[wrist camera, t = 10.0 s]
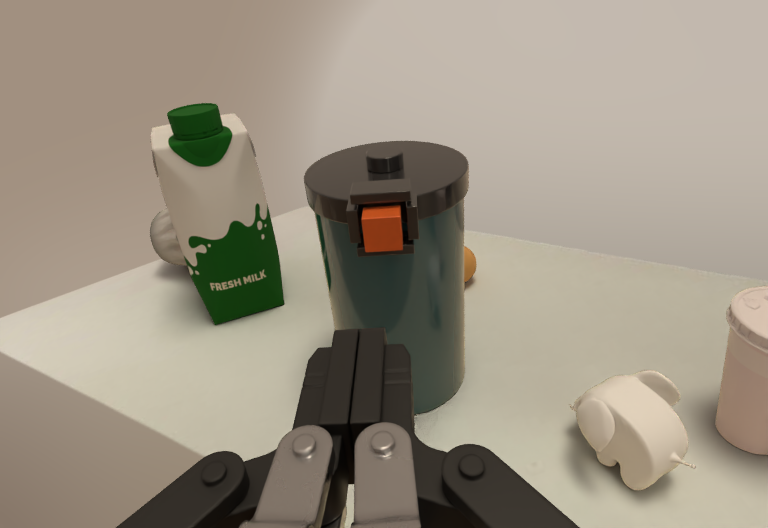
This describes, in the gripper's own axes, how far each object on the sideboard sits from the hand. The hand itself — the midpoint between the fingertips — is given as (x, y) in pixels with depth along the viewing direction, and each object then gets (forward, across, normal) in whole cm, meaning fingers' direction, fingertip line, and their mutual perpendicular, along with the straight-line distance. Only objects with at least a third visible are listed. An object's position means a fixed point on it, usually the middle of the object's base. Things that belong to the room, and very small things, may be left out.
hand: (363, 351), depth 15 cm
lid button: (+12, 0, +3) cm, 13 cm away
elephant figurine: (+10, -14, +19) cm, 26 cm away
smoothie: (+12, -23, +19) cm, 32 cm away
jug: (+19, 0, +19) cm, 27 cm away
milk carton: (+31, +17, +19) cm, 40 cm away
